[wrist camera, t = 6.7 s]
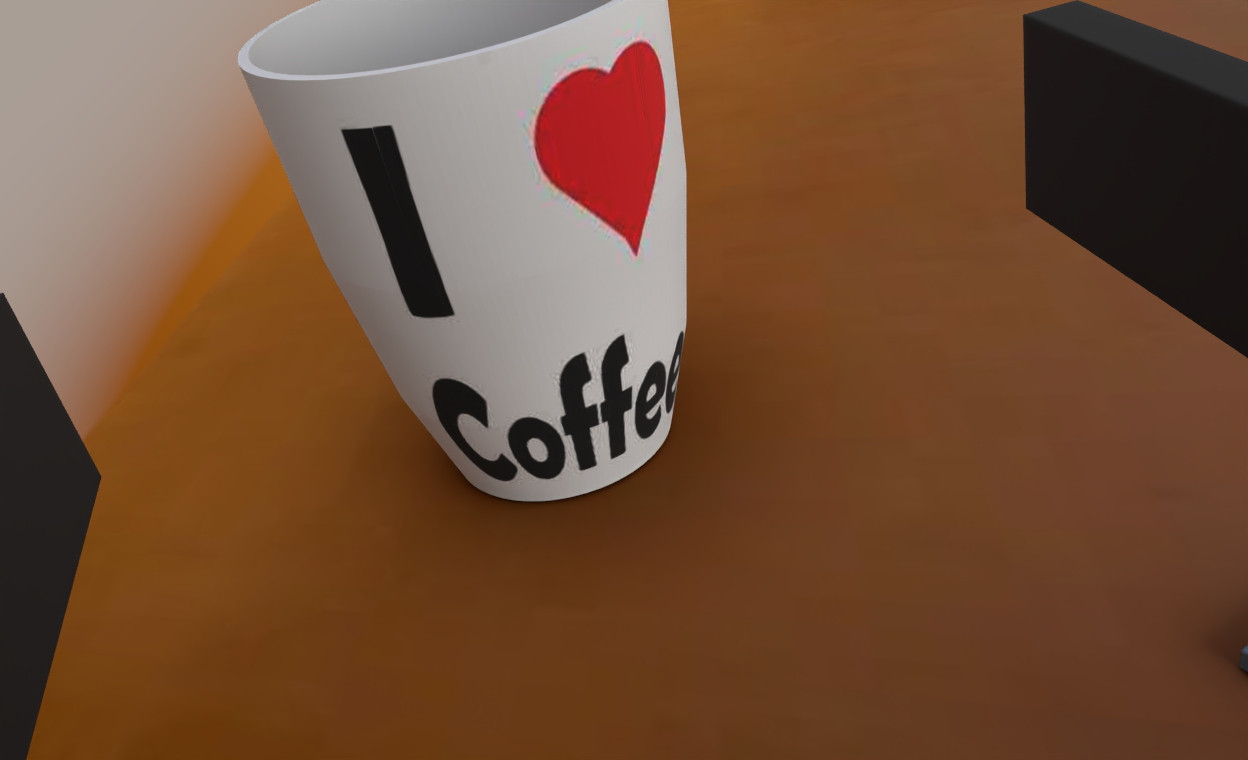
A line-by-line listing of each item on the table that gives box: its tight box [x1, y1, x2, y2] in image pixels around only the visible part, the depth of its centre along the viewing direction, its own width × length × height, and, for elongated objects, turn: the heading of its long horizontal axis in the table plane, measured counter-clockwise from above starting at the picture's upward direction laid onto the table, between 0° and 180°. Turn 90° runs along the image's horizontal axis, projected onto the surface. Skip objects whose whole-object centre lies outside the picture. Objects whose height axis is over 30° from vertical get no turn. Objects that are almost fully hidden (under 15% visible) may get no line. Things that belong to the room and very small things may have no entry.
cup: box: [238, 0, 686, 501], centre depth 25 cm, size 8×8×10 cm
